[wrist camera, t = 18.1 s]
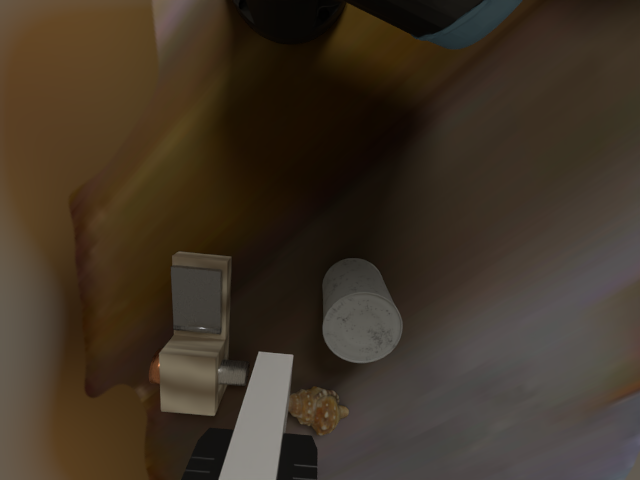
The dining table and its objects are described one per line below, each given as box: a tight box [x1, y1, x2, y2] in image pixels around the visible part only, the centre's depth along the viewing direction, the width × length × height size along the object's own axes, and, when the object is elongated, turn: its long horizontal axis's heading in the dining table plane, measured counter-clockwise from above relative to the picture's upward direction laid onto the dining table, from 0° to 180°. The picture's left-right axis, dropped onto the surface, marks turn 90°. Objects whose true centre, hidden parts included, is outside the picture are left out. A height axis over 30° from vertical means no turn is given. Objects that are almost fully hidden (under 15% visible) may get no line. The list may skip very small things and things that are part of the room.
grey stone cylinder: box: [322, 258, 402, 363], centre depth 44 cm, size 10×10×12 cm
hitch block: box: [159, 252, 232, 416], centre depth 48 cm, size 23×8×7 cm, turn 174°
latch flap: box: [171, 265, 222, 335], centre depth 47 cm, size 11×7×1 cm, turn 174°
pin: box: [149, 348, 249, 386], centre depth 50 cm, size 5×14×5 cm, turn 84°
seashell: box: [288, 387, 349, 436], centre depth 53 cm, size 9×8×10 cm
